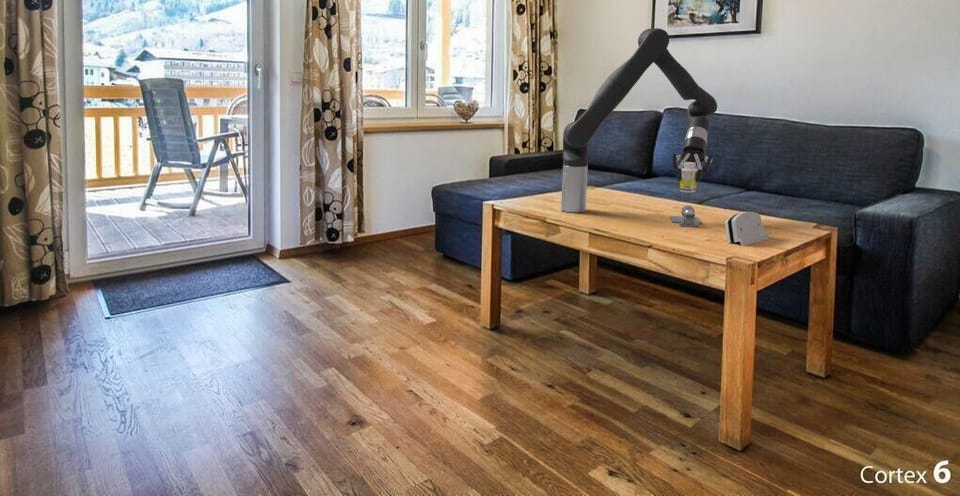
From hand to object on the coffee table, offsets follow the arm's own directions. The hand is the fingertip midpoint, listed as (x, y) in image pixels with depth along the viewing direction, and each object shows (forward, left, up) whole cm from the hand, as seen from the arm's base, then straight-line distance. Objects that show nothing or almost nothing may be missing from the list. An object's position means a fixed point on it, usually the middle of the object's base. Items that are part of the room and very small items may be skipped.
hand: (688, 179), depth 232 cm
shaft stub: (0, -6, -15) cm, 16 cm away
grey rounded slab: (+15, -25, -15) cm, 33 cm away
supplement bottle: (0, +2, -5) cm, 5 cm away
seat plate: (0, +2, -15) cm, 15 cm away
